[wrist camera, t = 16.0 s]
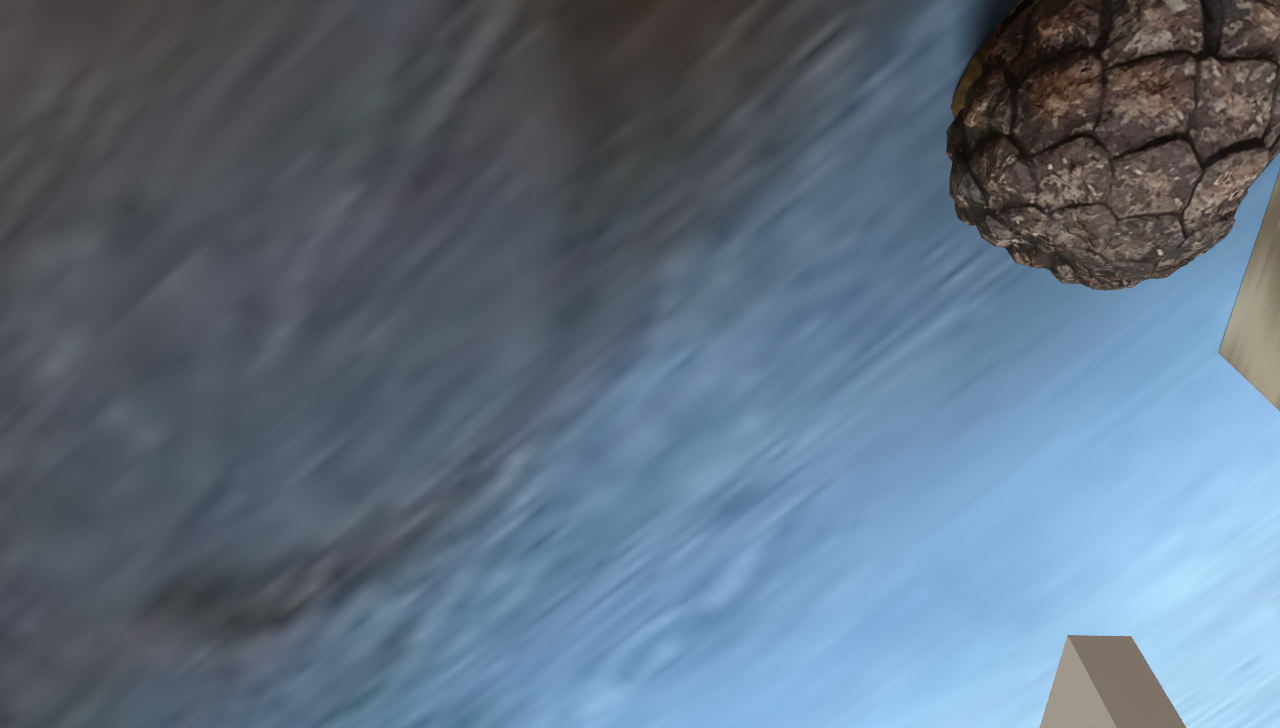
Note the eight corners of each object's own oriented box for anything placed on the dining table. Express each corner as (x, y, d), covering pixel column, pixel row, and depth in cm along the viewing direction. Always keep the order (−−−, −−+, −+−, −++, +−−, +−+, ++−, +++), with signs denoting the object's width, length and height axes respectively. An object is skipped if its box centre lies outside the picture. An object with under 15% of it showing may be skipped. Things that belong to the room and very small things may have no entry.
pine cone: (1387, -161, 38) (1623, -144, 29) (1081, 266, 45) (1193, 383, 36) (1149, -312, 35) (1325, -342, 26) (868, 165, 43) (933, 264, 34)
